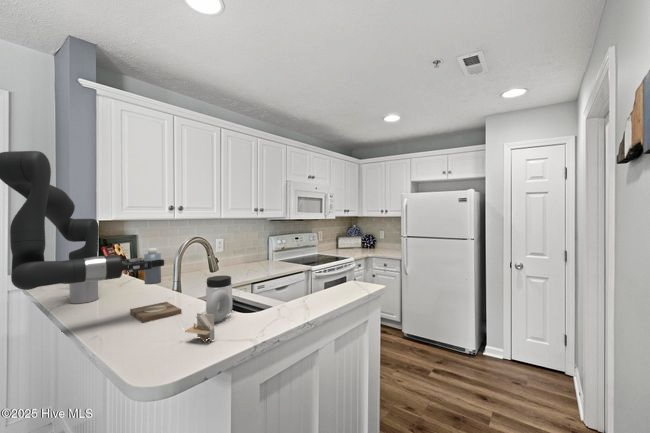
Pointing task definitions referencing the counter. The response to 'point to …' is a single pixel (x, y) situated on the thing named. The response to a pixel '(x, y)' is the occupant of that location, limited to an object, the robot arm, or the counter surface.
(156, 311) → the walnut board
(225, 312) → the donut
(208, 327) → the architectural model
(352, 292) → the counter surface
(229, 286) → the jar
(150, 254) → the bottle
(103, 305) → the counter surface
